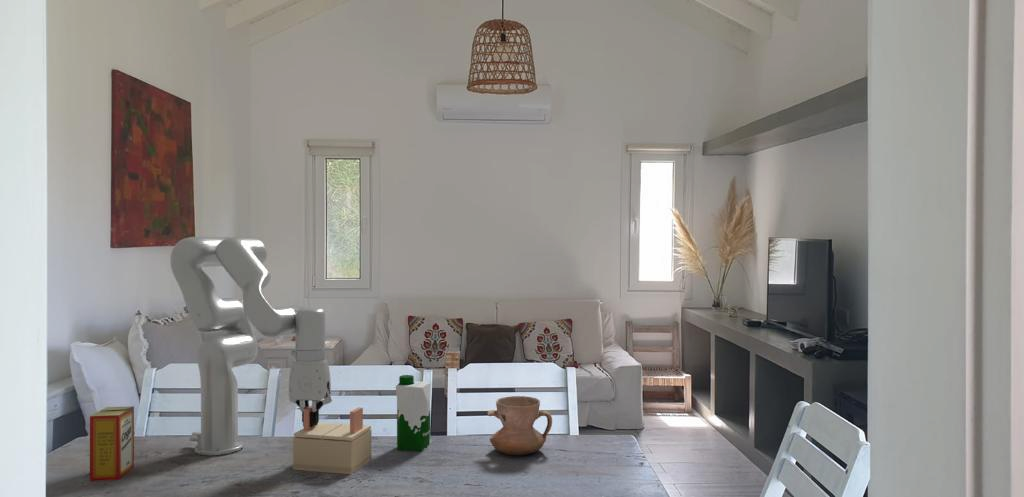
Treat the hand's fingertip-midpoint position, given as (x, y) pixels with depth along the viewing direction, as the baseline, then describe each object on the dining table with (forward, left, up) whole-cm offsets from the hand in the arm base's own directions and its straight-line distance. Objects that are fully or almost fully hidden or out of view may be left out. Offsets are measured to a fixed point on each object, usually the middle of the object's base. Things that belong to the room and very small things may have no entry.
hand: (310, 425), depth 181 cm
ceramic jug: (+51, +22, -10) cm, 57 cm away
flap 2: (+11, 0, -2) cm, 11 cm away
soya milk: (+21, +19, -10) cm, 30 cm away
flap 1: (+2, 0, -2) cm, 3 cm away
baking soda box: (-44, -19, -10) cm, 49 cm away
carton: (+6, 0, -10) cm, 12 cm away
